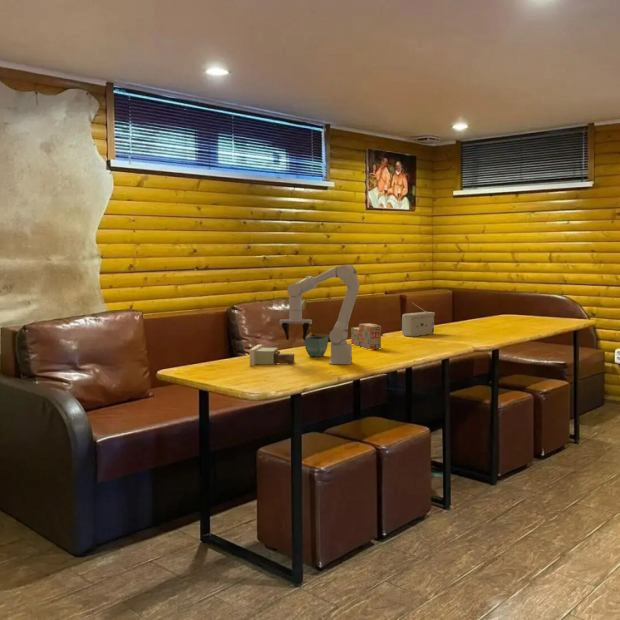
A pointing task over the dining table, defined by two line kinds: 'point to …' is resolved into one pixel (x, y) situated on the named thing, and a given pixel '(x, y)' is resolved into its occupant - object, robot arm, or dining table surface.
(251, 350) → the wall
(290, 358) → the brown collared bar
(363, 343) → the stack of blocks
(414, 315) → the stereo radio cassette player
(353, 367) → the dining table surface
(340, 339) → the robot arm
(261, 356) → the block
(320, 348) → the flower pot
